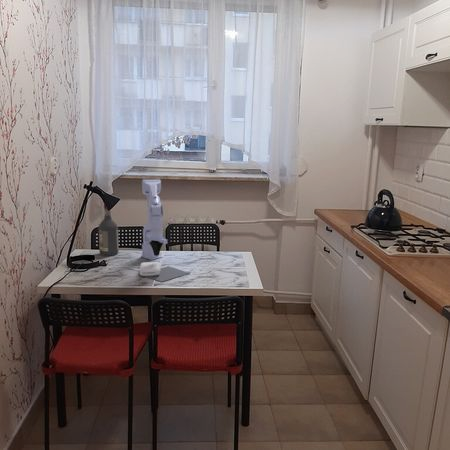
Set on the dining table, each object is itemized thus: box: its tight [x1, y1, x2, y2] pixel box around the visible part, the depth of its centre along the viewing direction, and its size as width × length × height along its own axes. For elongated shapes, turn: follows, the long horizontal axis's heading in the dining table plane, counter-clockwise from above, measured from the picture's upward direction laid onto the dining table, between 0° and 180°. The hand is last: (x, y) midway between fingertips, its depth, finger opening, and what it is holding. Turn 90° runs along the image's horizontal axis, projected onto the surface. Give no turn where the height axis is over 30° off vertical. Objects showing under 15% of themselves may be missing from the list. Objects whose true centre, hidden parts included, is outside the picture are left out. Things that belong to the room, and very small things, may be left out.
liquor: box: [98, 203, 119, 257], centre depth 250 cm, size 9×9×30 cm
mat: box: [145, 265, 190, 283], centre depth 219 cm, size 16×18×1 cm
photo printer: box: [139, 261, 162, 277], centre depth 219 cm, size 10×4×12 cm
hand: (156, 255), depth 222 cm, fingers closed
